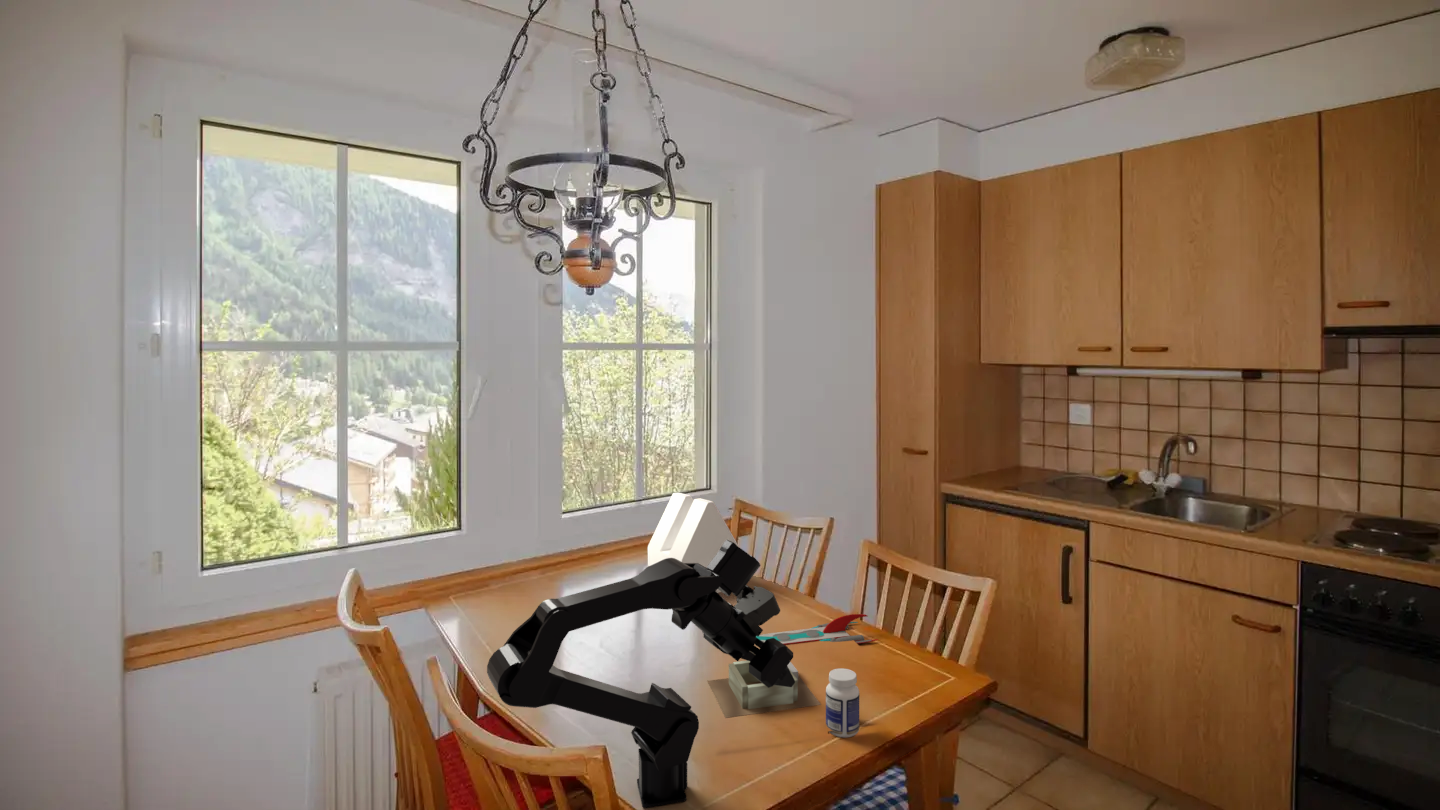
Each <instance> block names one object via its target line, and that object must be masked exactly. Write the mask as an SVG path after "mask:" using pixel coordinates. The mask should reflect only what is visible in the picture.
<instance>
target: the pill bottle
mask: <svg viewBox="0 0 1440 810" xmlns="http://www.w3.org/2000/svg"><path fill="white" fill-rule="evenodd" d="M857 681H858V679H857V673H856V672H855V671H853V670H851V669H849V668H834V669H832V670H830V671H829V674H828V684H827V685H826V687H825V725H826V727H827V728H828V729H829V731H828V733H829V734H830V735H832V736H834V737H838V738H851V737H854V736H856V735H857V734H858V733H859V731H860V689H859V687H858V686H857V685H856V684H857Z"/></svg>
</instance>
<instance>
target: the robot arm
mask: <svg viewBox="0 0 1440 810" xmlns="http://www.w3.org/2000/svg"><path fill="white" fill-rule="evenodd" d="M760 567H761V563H760V562H759V561H758V559H756V557H754V555H751V554H749V553H748V552H746V551H745V550H744V549H743V548H741V547H739V545H738V546H737V545H736V544H735V543H734V542H731V541H729V540H726V541H725V542H724V543H723V545H722V546H721V548H720V550H719V552H718V553H717V554H716V556H715V557H714V558H713V559H712V561H711V562H710V563H709V565H708V566H707V568H706V567H704V566H702V565H700V564H699V563H683V562H681V561H679V560H677V559H675V558H666V559H664V560H662V561H659V562H657V563H655V564H653V565H651V566H649V567H648V566H647V567H645V569H643V570H642V571H641V572H640V573H639V574H637V575H635V576H633V577H631V578H628V579H623V580H620V581H617V582H612V583H609V584H605V585H602V586H599V587H595V588H591V589H587V590H584V591H580V592H576V593H573V594H570V595H565V596H563V597H559V598H548V599H545V600H543V601H542V602H541V603H540V604H539V605H537V607H536V609H535V611H533V613H532V615H530V617H528V619H526V620H525V621H524V622H523V623H521V625H519V626H518V627H517V628H516V629H515V630H514V631H513V632H512V633H511V634H510V636H509V637H508V638H507V640H506V641H505V643H504V644H503V646H500V648H498V649H497V650H495V651H494V652H493V653H492V655H491V656H490V658H489V660H488V662H487V665H486V674H487V676H488V679H489V681H490V683H491V684H492V686H493V688H494V690H495V691H496V693H497V695H498V697H499V698H500V700H501V701H502V702H503V703H504V704H506V705H508V706H509V707H518V708H530V709H531V708H533V709H536V708H537V709H538V708H541V707H545V706H549V705H554V706H555V705H556V706H559V707H563V708H566V709H569V710H573V711H577V712H581V713H584V714H588V715H591V716H595V717H598V718H602V719H606V720H609V721H613V722H617V723H620V724H624V725H628V726H630V727H633V729H632V730H631V732H630V733H631V736H632V738H633V741H634V743H635V745H638V747H640V748H639V749H638V778H637V779H636V784H637V789H638V794H639V798H640V799H639V800H640V803H641V807H642V808H647V809H648V808H651V807H659V806H665V805H669V804H676V803H683V802H686V801H687V793H686V790H687V789H688V760H689V758H690V755H691V751H692V747H693V745H694V741H695V738H696V736H697V735H698V731H699V729H700V721H699V719H698V718H699V717H698V715H697V714H696V713H695V712H694V711H693V710H692V706H691V704H689V703H688V702H687V701H686V700H685V699H683V698H682V697H681V696H680V695H679V694H678V693H677V691H676V690H674V689H673V688H672V687H667V688H665V687H661V686H659V685H657V684H656V683H654V682H651V685H650V688H649V691H645V692H643V693H638V692H635V691H632V690H628V689H625V688H622V687H618V686H616V685H611V684H609V683H607V682H602V681H600V680H596V679H593V678H590V677H587V676H586V677H585V676H582V675H579V674H576V673H573V672H570V671H567V670H564V669H560V668H559V667H556V666H555V665H554V663H555V661H556V657H557V655H558V653H559V650H560V648H561V646H562V642H563V641H564V639H565V638H566V637H567V636H568V634H569V632H572V631H575V630H576V631H577V630H580V629H582V628H586V627H589V626H592V625H596V624H598V623H602V622H605V621H609V620H612V619H616V618H618V617H623V616H625V615H629V614H633V613H637V612H638V611H643V610H649V609H652V610H653V609H654V610H655V609H657V610H672V614H671V623H673V625H675V626H677V627H678V628H679V629H680V630H683V631H684V630H686V629H687V627H688V626H689V624H690V623H692V624H694V625H695V626H696V627H697V628H698V629H699V630H700V631H701V632H702V634H703V638H704V639H705V640H706V641H707V642H708V643H710V644H711V645H712V646H713V647H715V648H716V649H717V650H719V651H720V652H721V653H723V654H726V655H728V656H730V657H731V658H732V659H734V660H735V662H738V661H740V659H741V660H743V661H750V663H749V673H750V674H752V675H753V676H754V677H755V678H756V679H757V680H759V681H760V682H761V683H763V684H764V685H765V686H766V687H768V688H769V687H772V686H773V685H778V686H785V687H792V686H793V685H794V683H795V680H794V678H793V676H792V674H791V672H790V670H789V668H788V666H787V665H788V664H789V663H790V662H791V661H792V660H793V659H794V651H792V650H791V649H790V648H789V647H788V646H787V645H784V644H782V643H781V642H779V641H778V640H776V639H775V638H770V639H766V641H765V642H762V641H761V640H760V639H758V638H757V637H756V636H759V635H762V633H763V632H764V629H763V628H762V627H760V626H763V625H764V624H765V623H767V622H768V621H769V620H771V619H773V617H775V616H778V615H779V614H780V612H781V609H780V608H781V607H780V606H779V603H778V602H777V601H778V600H777V598H776V596H775V594H774V593H773V592H772V591H770V590H768V589H766V588H765V587H763V586H756V585H755V586H753V588H752V587H750V586H749V585H748V583H749V582H751V579H752V578H753V576H754V575H755V574H756V572H757V571H758V570H759V568H760ZM717 589H719V590H720V591H721V592H720V593H723V594H724V595H725V596H727V597H731V595H734V596H735V597H736V599H735V600H736V604H735V605H733V604H732V603H730V602H728V601H727V600H726V599H725V598H724V597H723V596H722V595H720V593H717V592H716V590H717Z"/></svg>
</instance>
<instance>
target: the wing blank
mask: <svg viewBox="0 0 1440 810" xmlns="http://www.w3.org/2000/svg"><path fill="white" fill-rule="evenodd" d="M787 666H788V668H789V669H790V671H791V672H792V673H793V675H794V676H795V677H796V679H797V680H798V675H799V671H798V669H797V668H796V667H795V665H794V664H793V663H792V662H791V661H790V663H789V664H788V665H787Z"/></svg>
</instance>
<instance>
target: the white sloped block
mask: <svg viewBox="0 0 1440 810" xmlns="http://www.w3.org/2000/svg"><path fill="white" fill-rule="evenodd" d="M716 505H717V504H715V502H714V501H712V500H709V499H705V498H700V497H698V498H694V499H693V496H692V495H689V494H685V493H683V492H673V493H672V494H671V497H670V499H669V501H668V503H667V505H666V507H665V509H664V512H663V513H662V516H661V518H660V519H659V522H658V524H657V526H656V528H655V530H654V532H653V534H652V537H651V539H650V541H649V542H648V544H647V567H649V566H651V565H653V564H655V563H657V562H659V561H662V560H664V559H666V558H675V559H677V560H679V561H681V562H683V563H699V564H700V565H702V566H704V567H706V568H707V566H708V565H709V563H710V562H711V561H712V559H713V558H714V557H715V556H716V554H717V553H718V552H719V550H720V548H721V546H722V545H723V543H724V542H725V541H726V540H729V541H731V542H734V543H735V544H736V545H737V546H738V547H739V544H738V543H737V541H736V539H735V537H734V535H733V534H732V532H731V530H730V528H729V526H728V525H727V523H726V521H725V520H724V518H723V516H722V514H721V512H720V511H719V509H718V507H717V506H716ZM716 592H717V593H718V594H720V593H722V592H721V591H720V590H719V589H717V590H716Z"/></svg>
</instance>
